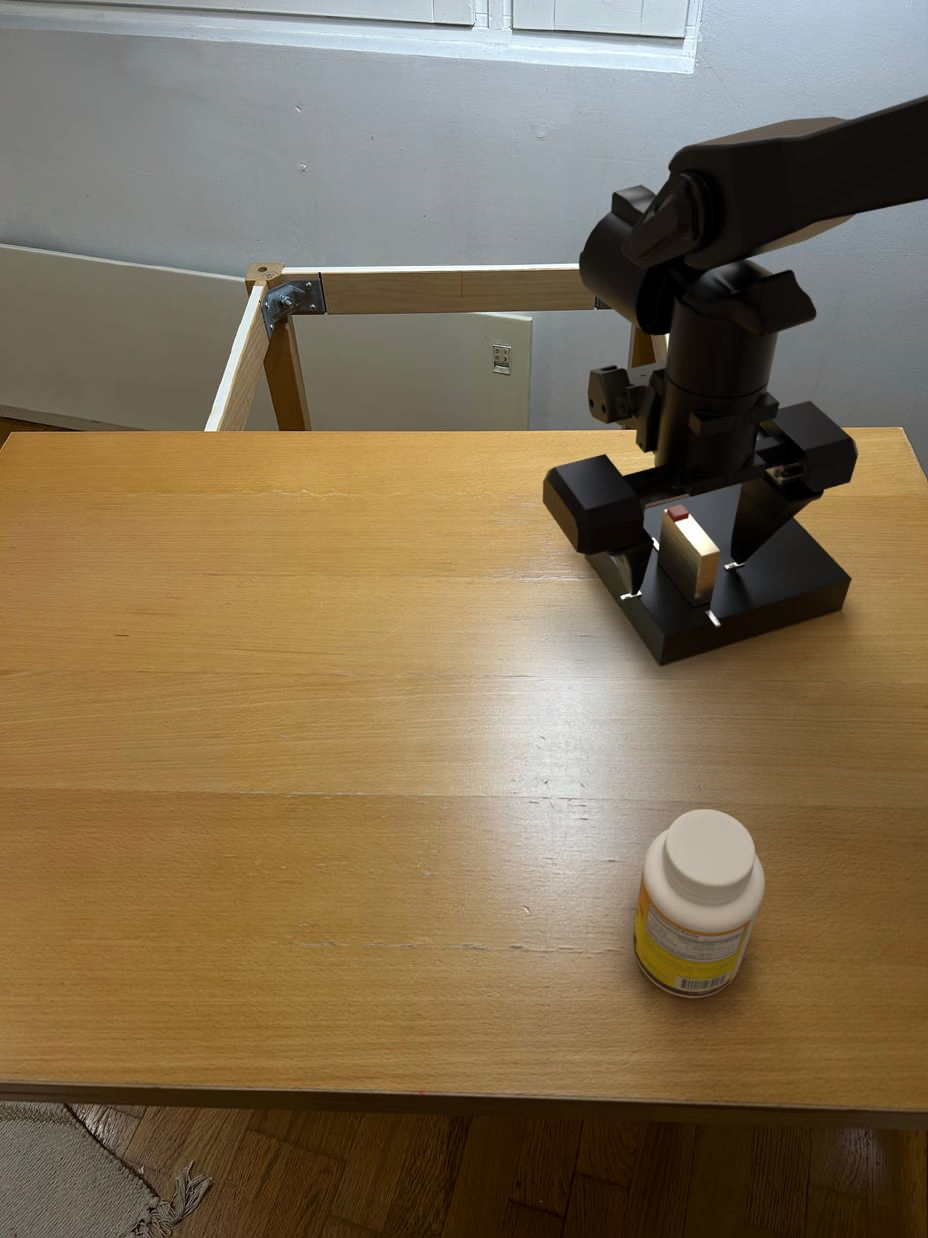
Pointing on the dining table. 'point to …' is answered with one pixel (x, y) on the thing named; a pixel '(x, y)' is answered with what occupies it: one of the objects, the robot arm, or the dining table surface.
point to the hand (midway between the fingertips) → (684, 575)
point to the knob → (688, 555)
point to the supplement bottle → (697, 903)
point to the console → (727, 584)
